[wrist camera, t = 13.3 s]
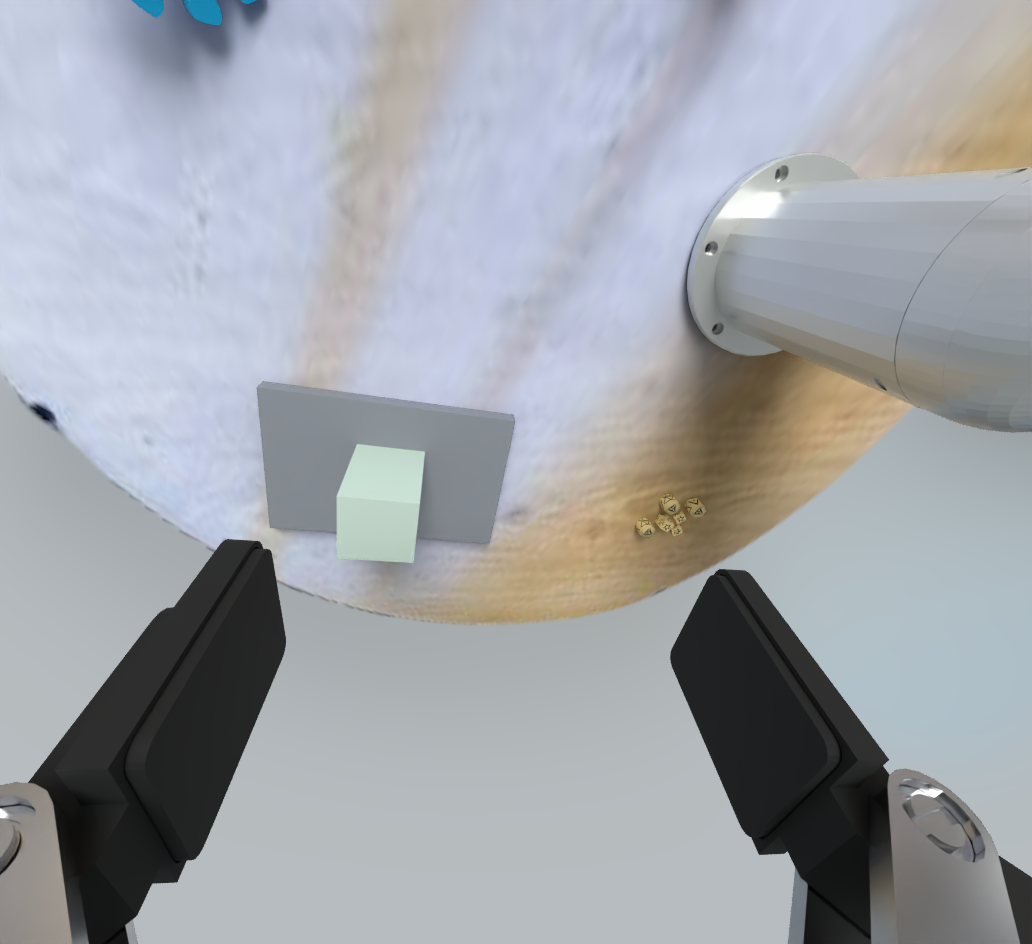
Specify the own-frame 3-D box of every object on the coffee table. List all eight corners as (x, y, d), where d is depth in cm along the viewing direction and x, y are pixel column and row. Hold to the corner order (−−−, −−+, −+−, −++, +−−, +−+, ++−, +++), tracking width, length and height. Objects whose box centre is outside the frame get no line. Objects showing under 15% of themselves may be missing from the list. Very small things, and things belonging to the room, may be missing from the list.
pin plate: (513, 415, 35) (520, 438, 31) (488, 534, 40) (491, 566, 37) (263, 381, 31) (238, 404, 27) (274, 518, 37) (256, 552, 33)
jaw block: (425, 451, 34) (419, 503, 28) (419, 504, 36) (413, 562, 30) (356, 444, 33) (336, 496, 27) (355, 499, 35) (336, 558, 29)
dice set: (629, 523, 43) (637, 536, 41) (658, 481, 41) (667, 493, 39) (671, 536, 44) (679, 549, 43) (700, 496, 42) (711, 508, 41)
